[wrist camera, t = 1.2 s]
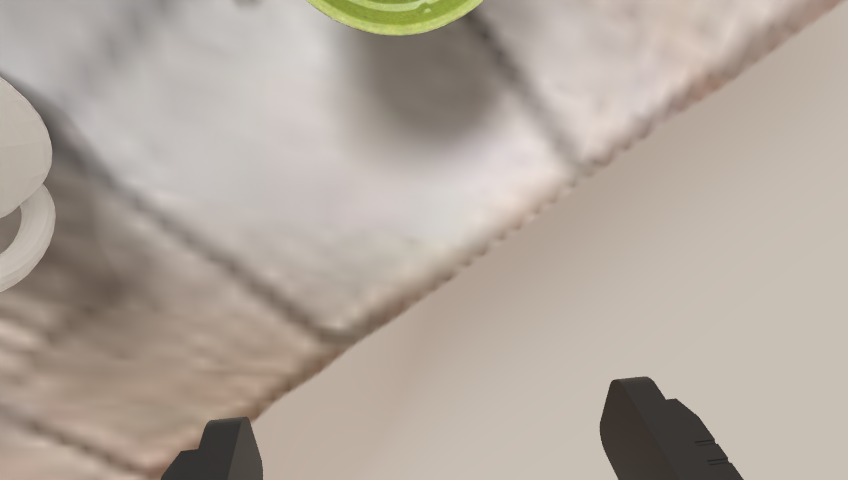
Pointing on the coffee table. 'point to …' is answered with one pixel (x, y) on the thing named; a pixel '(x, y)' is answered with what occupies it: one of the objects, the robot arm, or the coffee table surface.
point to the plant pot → (395, 14)
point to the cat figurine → (24, 184)
